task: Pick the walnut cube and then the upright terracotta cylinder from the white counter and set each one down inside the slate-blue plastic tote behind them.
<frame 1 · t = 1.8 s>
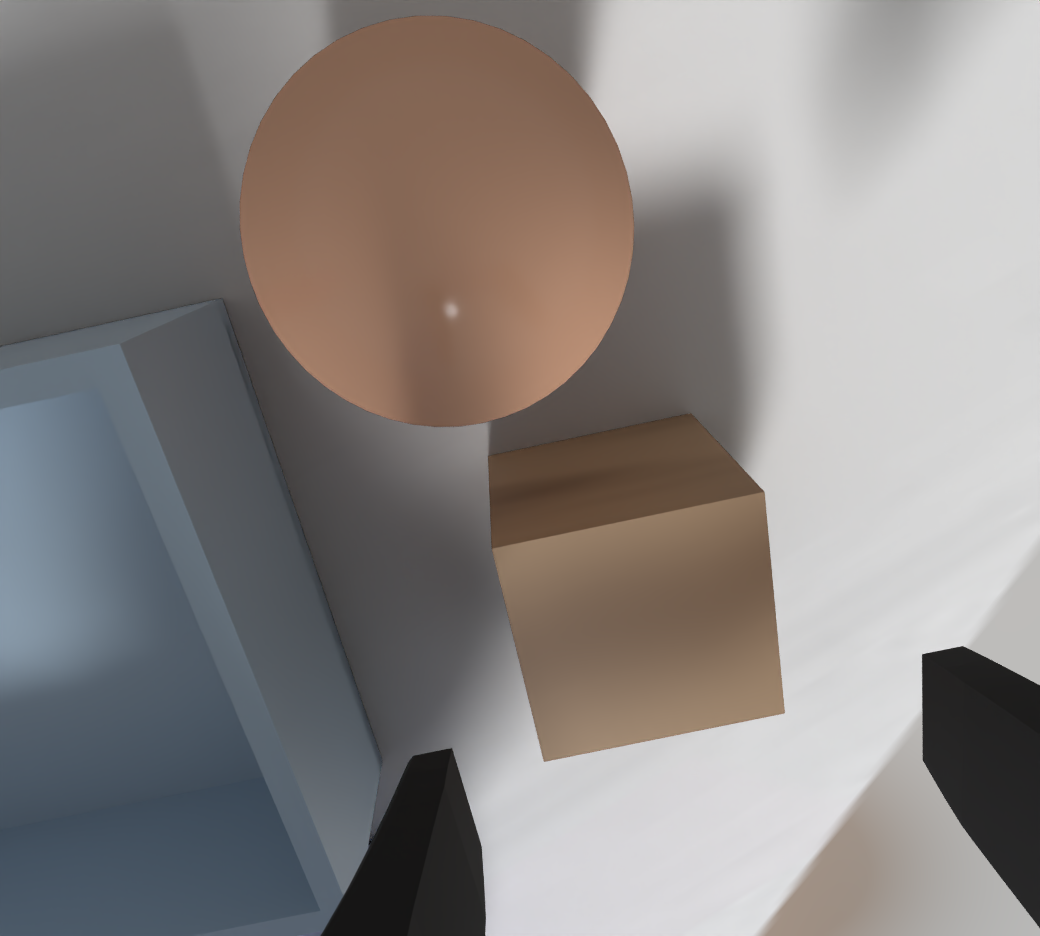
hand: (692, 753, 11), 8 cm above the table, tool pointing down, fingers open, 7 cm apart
terracotta cylinder: (455, 217, 16), on the table
walnut cube: (605, 524, 19), on the table
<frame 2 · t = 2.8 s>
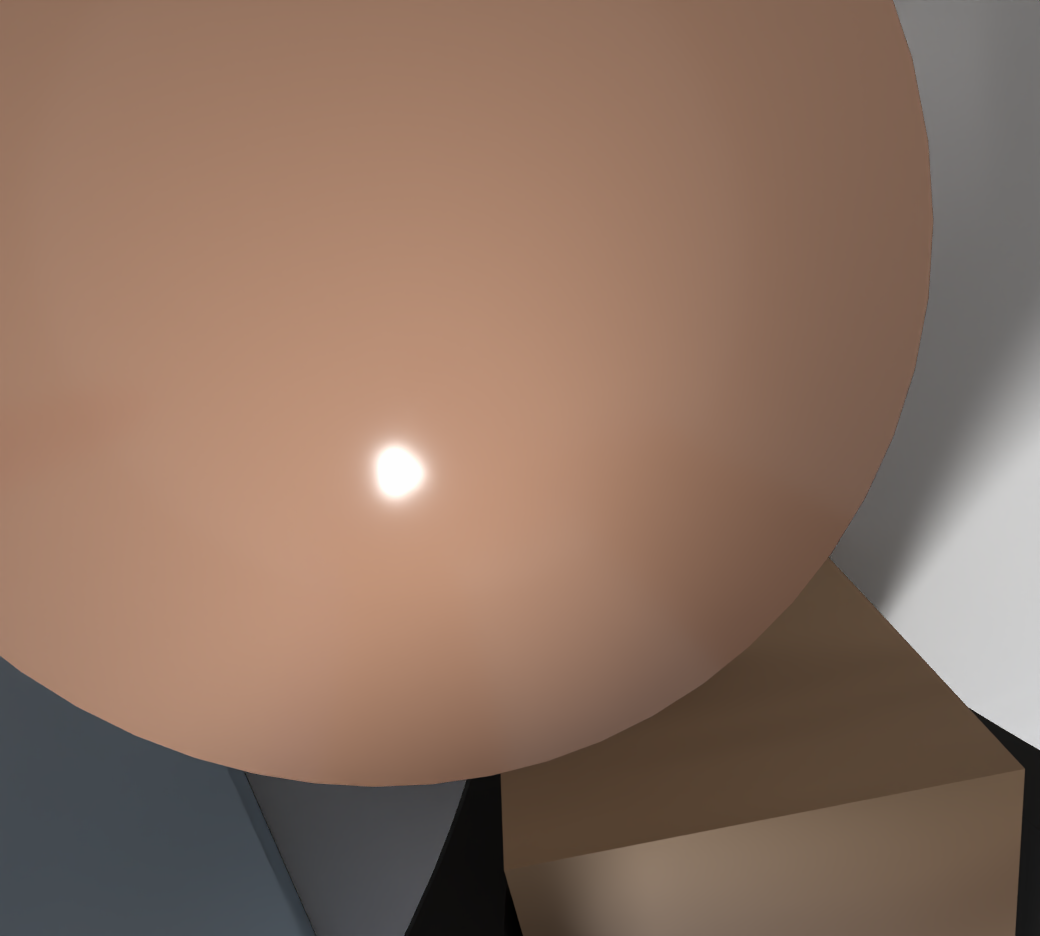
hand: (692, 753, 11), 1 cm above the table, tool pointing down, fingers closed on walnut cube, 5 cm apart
terracotta cylinder: (442, 235, 10), on the table
walnut cube: (669, 693, 13), on the table, touching gripper
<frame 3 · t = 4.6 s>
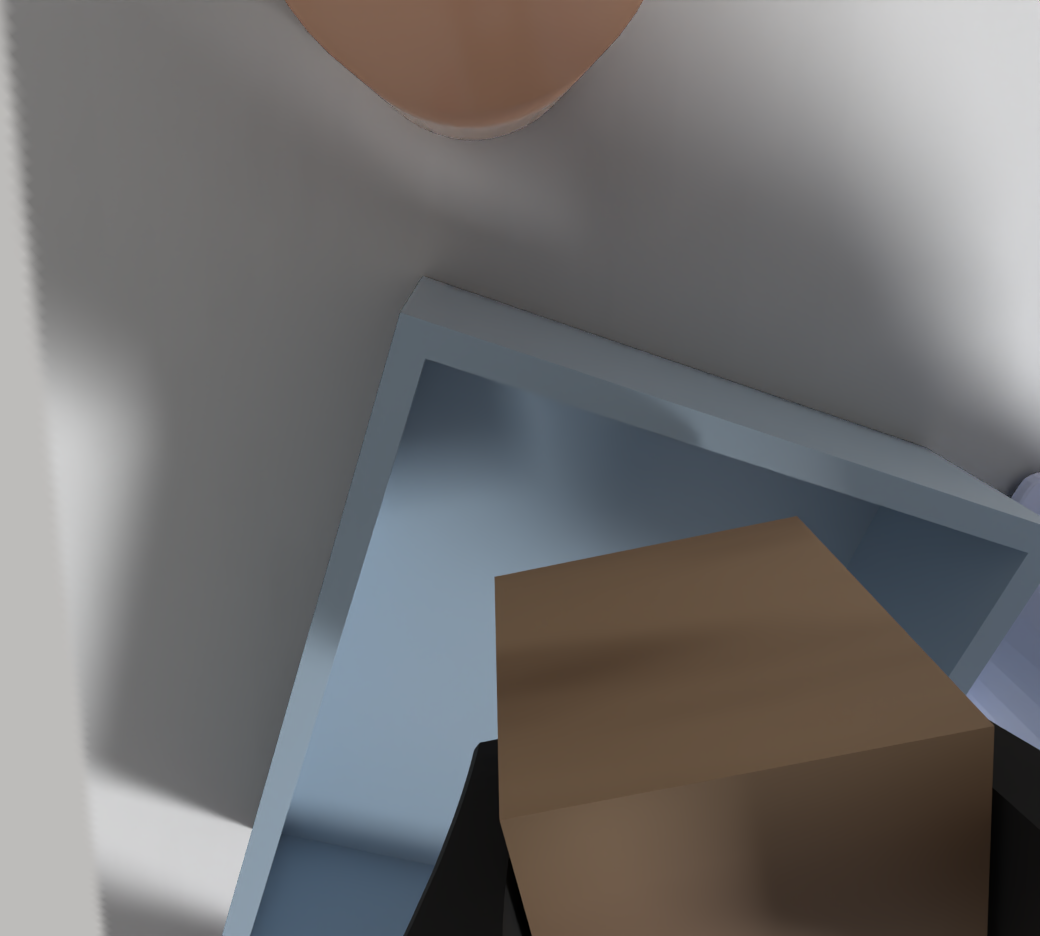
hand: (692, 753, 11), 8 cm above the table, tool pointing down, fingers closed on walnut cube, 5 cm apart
tote: (564, 656, 21), on the table
terracotta cylinder: (470, 4, 15), on the table
walnut cube: (664, 671, 13), point 7 cm above the table, touching gripper
when the fingers open (3 cm above the table, at t = 6.6 s): walnut cube drops 1 cm, resting on tote.
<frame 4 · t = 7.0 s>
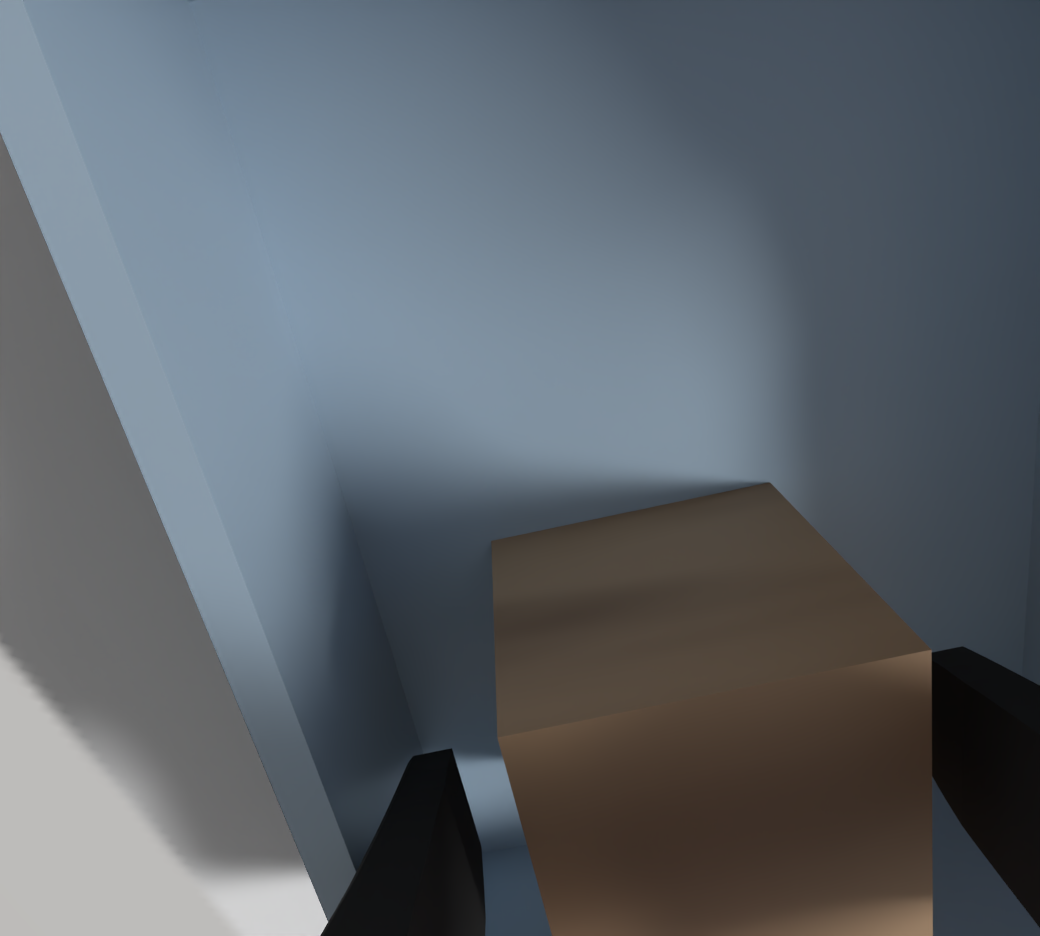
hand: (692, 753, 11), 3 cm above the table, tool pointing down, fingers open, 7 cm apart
tote: (686, 449, 13), on the table
walnut cube: (649, 629, 14), resting on tote
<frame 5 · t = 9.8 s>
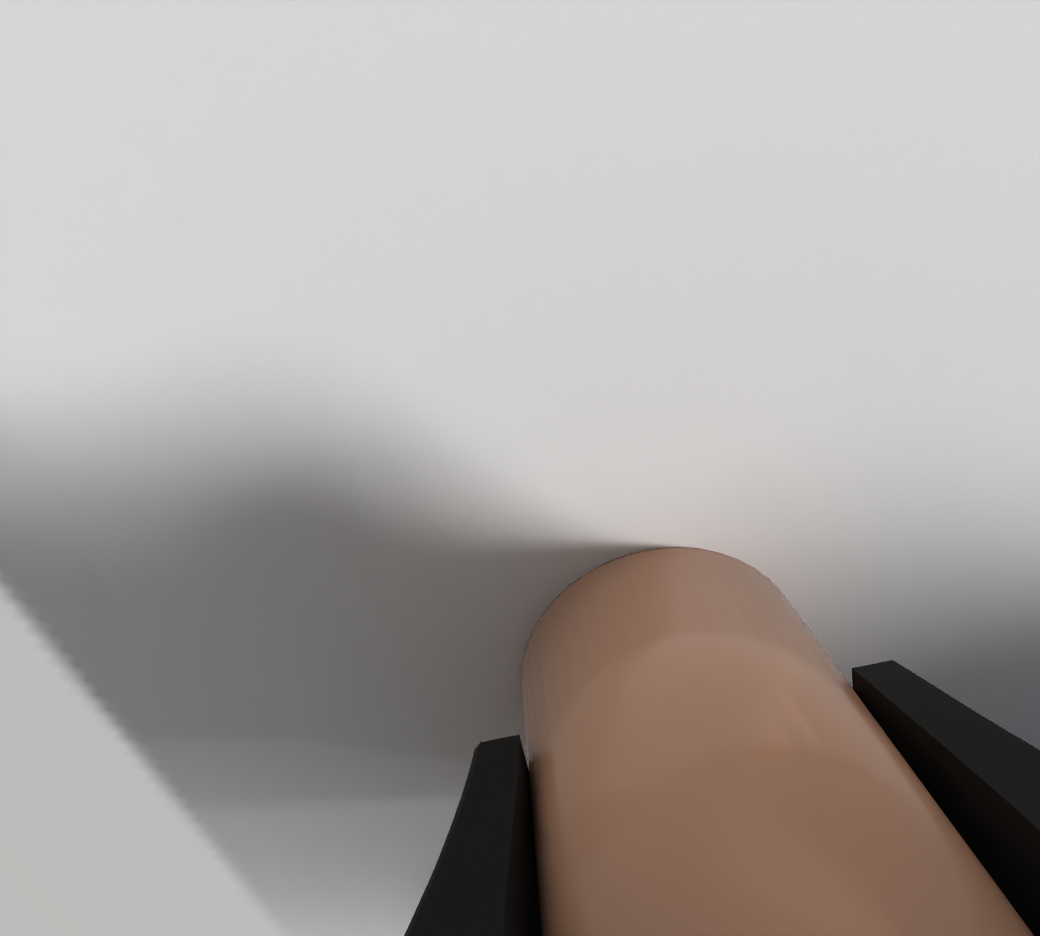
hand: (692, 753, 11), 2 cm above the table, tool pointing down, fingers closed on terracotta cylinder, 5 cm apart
terracotta cylinder: (663, 674, 13), on the table, touching gripper
when the fingers open (3 cm above the table, at t = 13.0 s): terracotta cylinder stays where it is, resting on tote.
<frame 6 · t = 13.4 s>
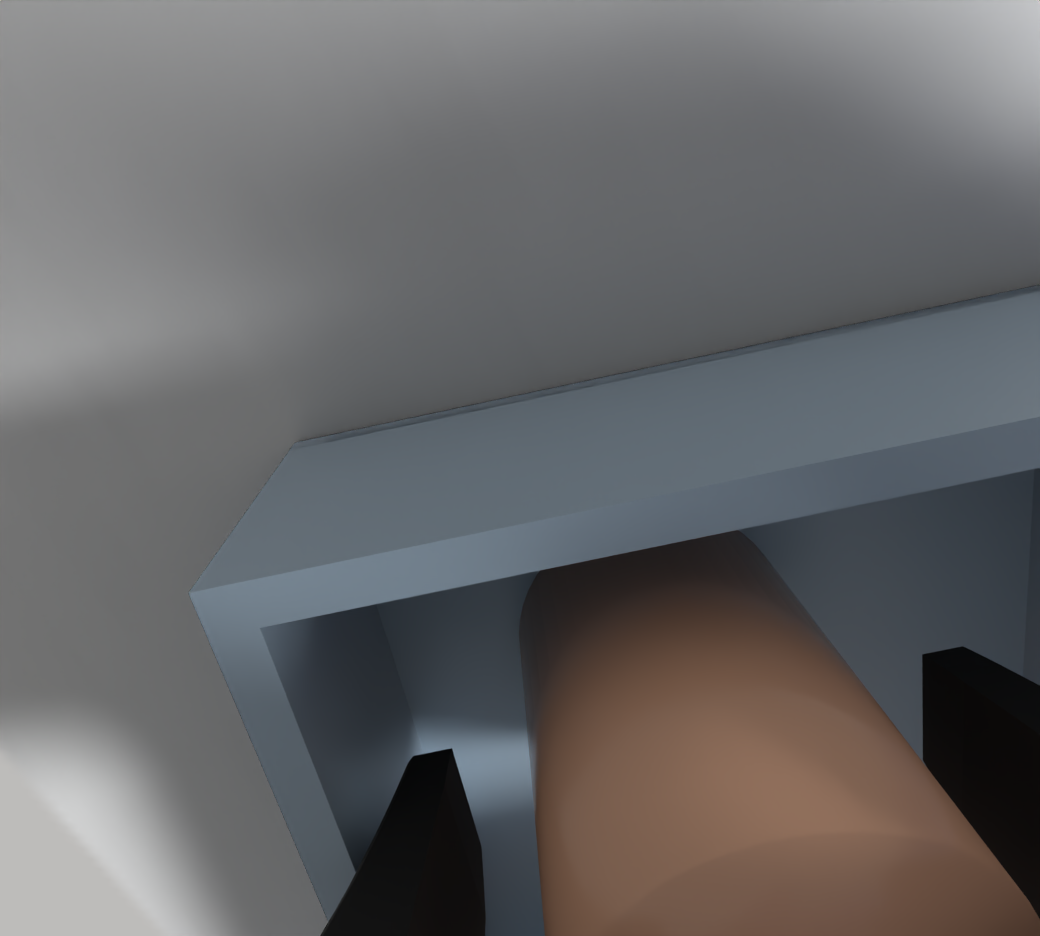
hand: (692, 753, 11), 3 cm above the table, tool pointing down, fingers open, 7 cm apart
tote: (724, 754, 16), on the table
terracotta cylinder: (651, 629, 14), resting on tote
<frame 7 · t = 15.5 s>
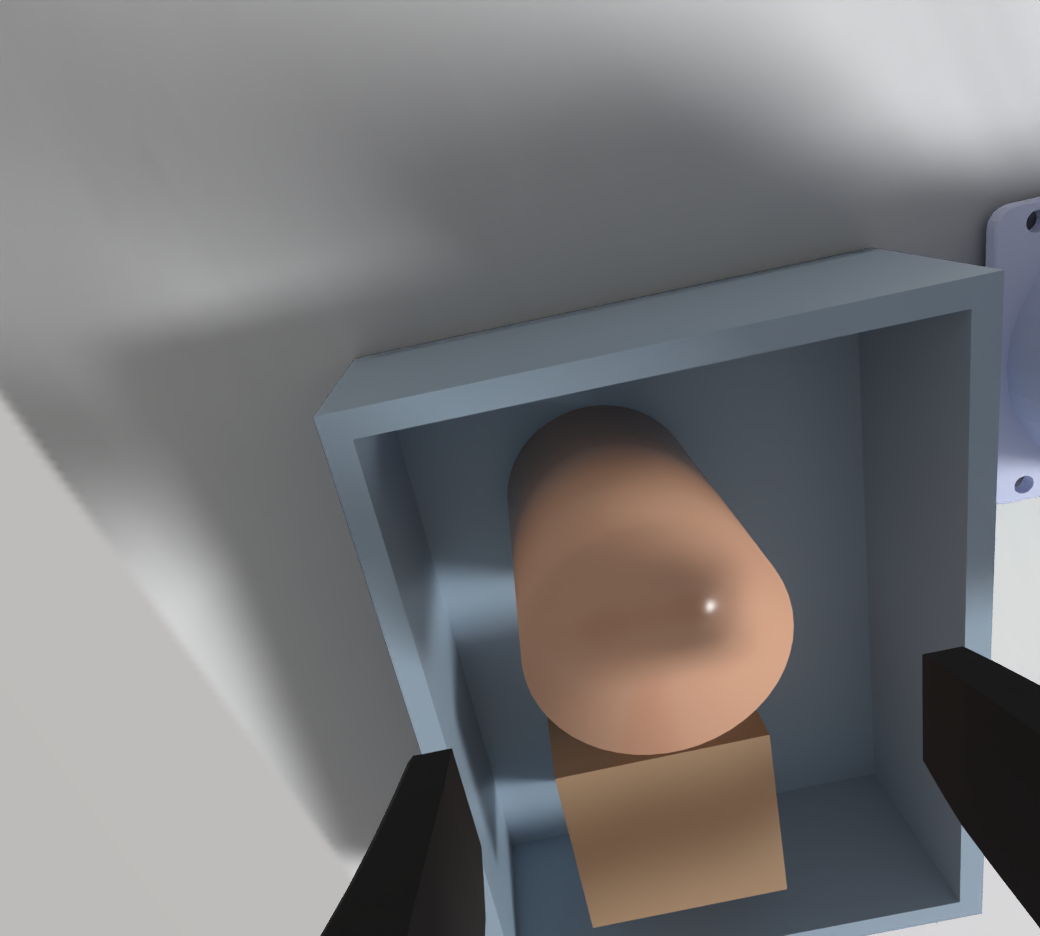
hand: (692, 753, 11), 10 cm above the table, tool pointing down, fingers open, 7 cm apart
tote: (656, 595, 22), on the table
terracotta cylinder: (599, 494, 20), resting on tote
walnut cube: (635, 701, 23), resting on tote
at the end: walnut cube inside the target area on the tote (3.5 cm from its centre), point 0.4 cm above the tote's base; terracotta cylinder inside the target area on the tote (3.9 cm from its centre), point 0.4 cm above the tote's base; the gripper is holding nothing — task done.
